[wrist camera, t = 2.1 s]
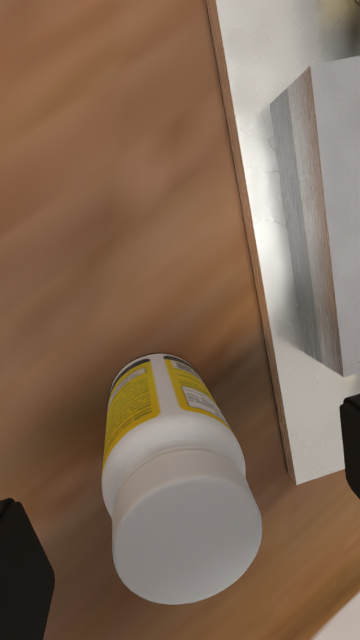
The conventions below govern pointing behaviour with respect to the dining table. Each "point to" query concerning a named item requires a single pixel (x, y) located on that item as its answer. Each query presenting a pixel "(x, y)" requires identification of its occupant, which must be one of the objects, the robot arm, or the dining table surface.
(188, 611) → the dining table surface
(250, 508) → the supplement bottle
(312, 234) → the gray plate
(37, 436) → the dining table surface
